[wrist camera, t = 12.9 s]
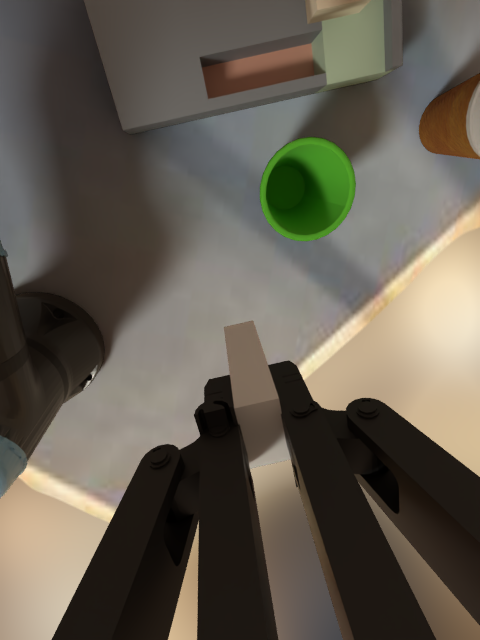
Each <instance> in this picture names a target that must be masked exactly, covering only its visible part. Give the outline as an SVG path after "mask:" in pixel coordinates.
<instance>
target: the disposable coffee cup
mask: <svg viewBox="0 0 480 640" xmlns="http://www.w3.org/2000/svg"><path fill="white" fill-rule="evenodd" d="M419 135H420V139H421V142H422V144H423V145H424V147H425V148H426V149H427V150H428V151H430V152H432V153H436V154H444V155H452V156H459V157H467V158H474V159H480V73H479V74H477V75H475V76H474V77H472V78H470V79H468V80H467V81H465V82H463V83H461V84H460V85H458V86H456V87H454V88H452V89H451V90H449V91H447V92H445V93H444V94H442V95H440V96H439V97H437V98H436V99H434V100H433V101H432V102H431V103H430V104H429V105H428V106H427V108H426V109H425V111H424V113H423V115H422V117H421V120H420V125H419Z"/></svg>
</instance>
